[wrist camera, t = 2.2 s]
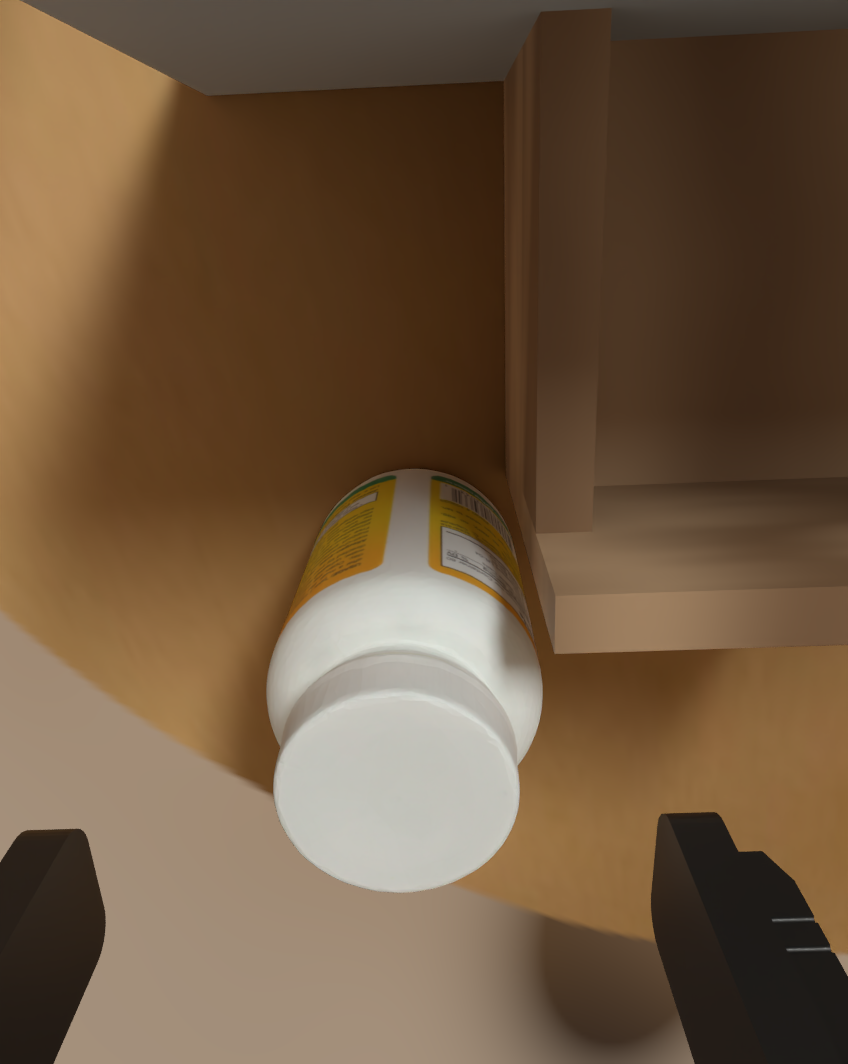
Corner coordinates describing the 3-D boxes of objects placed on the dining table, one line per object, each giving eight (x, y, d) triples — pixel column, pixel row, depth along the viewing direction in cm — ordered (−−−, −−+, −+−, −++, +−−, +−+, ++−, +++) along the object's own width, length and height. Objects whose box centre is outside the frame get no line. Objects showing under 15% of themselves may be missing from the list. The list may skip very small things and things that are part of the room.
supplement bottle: (519, 465, 21) (585, 659, 12) (507, 647, 23) (554, 930, 14) (310, 461, 21) (218, 649, 12) (316, 642, 23) (241, 922, 14)
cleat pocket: (924, 59, 17) (1387, -84, 9) (857, 462, 21) (1149, 635, 12) (504, 81, 17) (568, -40, 9) (505, 475, 21) (554, 654, 12)
